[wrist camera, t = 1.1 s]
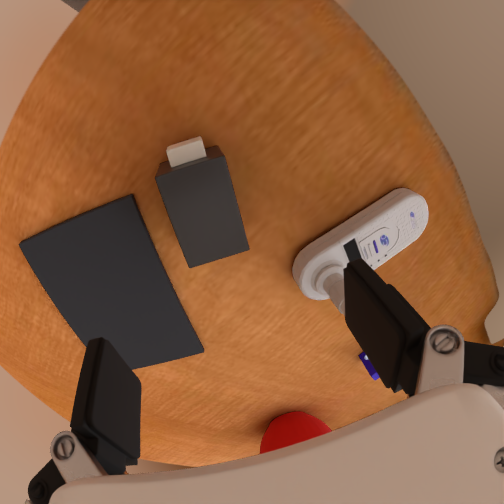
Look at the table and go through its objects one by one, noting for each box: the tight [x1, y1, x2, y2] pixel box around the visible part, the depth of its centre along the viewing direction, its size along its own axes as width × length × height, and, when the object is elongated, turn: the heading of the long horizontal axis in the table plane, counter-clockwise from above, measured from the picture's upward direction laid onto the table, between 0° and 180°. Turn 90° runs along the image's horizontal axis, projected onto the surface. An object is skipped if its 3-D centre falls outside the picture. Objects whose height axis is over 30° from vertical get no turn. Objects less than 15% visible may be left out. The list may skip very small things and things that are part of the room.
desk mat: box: [19, 194, 204, 370], centre depth 25 cm, size 18×12×1 cm, turn 13°
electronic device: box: [292, 188, 429, 316], centre depth 24 cm, size 5×10×15 cm
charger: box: [155, 136, 250, 268], centre depth 21 cm, size 8×4×4 cm, turn 13°
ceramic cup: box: [260, 411, 332, 454], centre depth 40 cm, size 13×17×10 cm
